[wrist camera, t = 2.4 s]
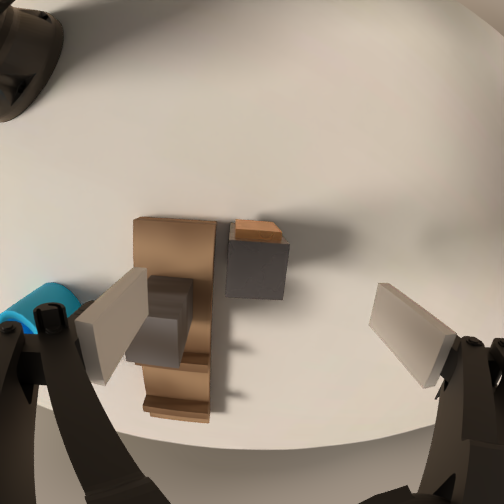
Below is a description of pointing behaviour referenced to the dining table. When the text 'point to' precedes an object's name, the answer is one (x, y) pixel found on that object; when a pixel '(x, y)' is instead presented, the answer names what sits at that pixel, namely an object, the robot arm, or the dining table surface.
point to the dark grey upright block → (256, 260)
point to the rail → (196, 358)
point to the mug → (42, 295)
